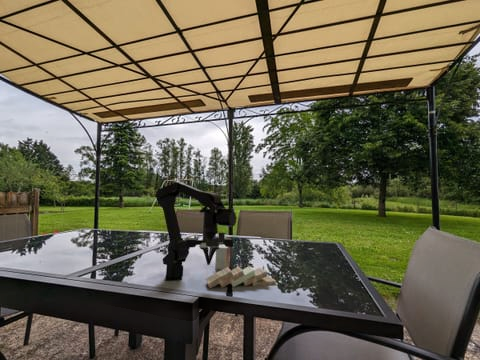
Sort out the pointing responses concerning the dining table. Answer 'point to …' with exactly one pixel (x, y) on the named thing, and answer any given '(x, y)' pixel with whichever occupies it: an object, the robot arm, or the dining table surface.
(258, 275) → the domino
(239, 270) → the domino
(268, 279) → the domino
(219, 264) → the small box
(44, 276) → the dining table surface
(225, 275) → the domino
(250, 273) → the domino
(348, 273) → the dining table surface
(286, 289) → the dining table surface
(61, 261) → the dining table surface
